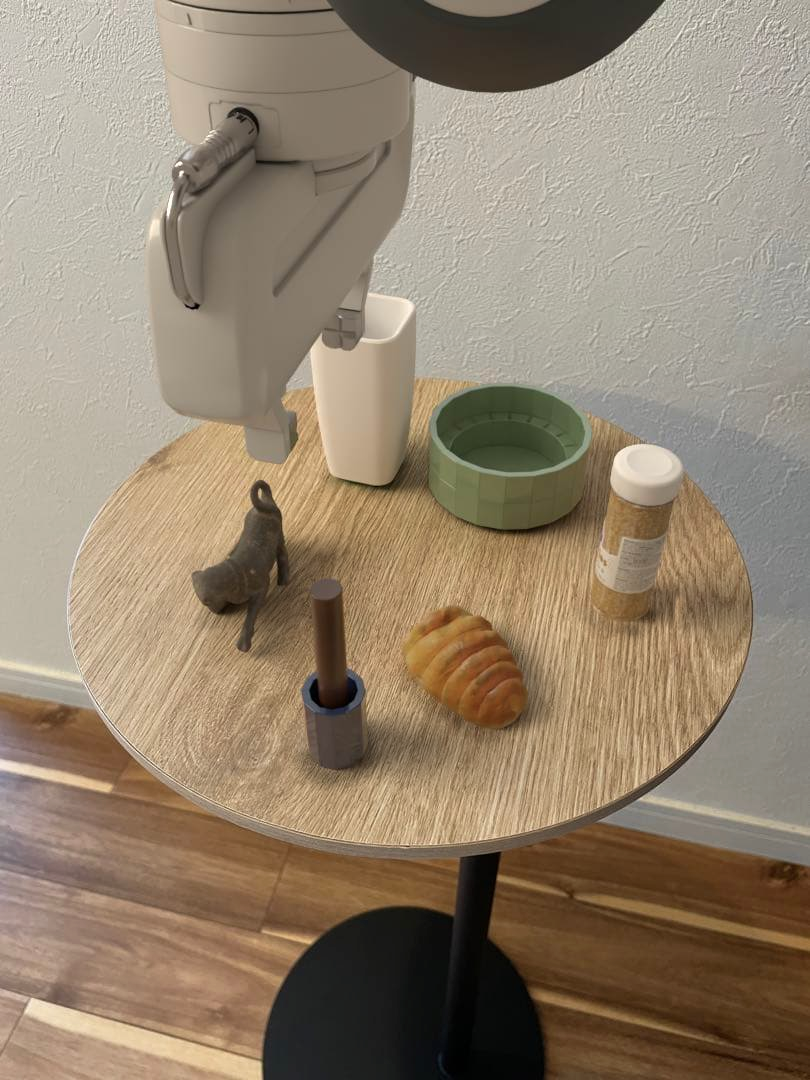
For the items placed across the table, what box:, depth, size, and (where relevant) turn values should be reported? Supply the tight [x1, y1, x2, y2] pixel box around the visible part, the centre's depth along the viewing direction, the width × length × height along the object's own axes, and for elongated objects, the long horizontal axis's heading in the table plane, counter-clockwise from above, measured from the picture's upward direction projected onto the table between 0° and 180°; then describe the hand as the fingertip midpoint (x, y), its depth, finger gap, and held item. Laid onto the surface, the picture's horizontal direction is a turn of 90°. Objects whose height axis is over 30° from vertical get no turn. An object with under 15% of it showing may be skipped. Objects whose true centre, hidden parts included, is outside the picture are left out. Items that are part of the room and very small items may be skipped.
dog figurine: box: [191, 479, 290, 653], centre depth 70 cm, size 12×6×7 cm, turn 166°
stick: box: [309, 577, 349, 710], centre depth 57 cm, size 2×2×14 cm
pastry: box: [401, 604, 529, 730], centre depth 65 cm, size 9×7×4 cm
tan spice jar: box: [588, 443, 684, 623], centre depth 68 cm, size 5×5×13 cm
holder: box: [300, 667, 369, 770], centre depth 60 cm, size 4×4×6 cm
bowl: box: [427, 382, 594, 530], centre depth 81 cm, size 13×13×6 cm
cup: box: [309, 292, 417, 487], centre depth 80 cm, size 7×7×15 cm
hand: (311, 393), depth 44 cm, fingers open, 8 cm apart
